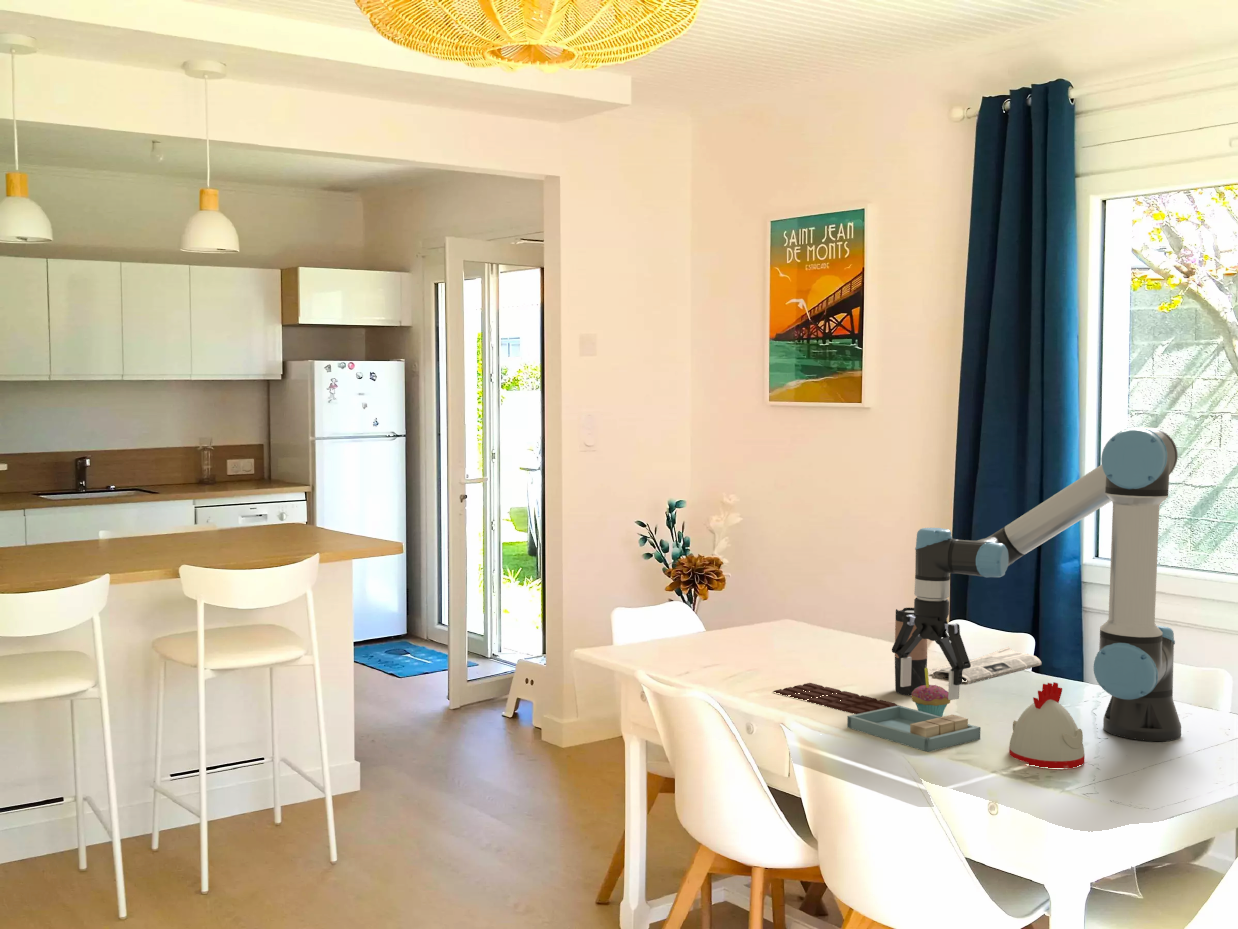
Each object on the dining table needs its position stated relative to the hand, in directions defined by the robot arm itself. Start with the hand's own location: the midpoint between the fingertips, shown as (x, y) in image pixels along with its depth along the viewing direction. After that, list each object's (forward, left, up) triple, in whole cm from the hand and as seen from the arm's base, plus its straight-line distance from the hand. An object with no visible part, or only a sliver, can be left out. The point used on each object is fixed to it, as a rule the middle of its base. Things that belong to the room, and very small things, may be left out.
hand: (929, 692), depth 264 cm
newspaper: (+23, -49, -6) cm, 55 cm away
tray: (-8, +15, -5) cm, 18 cm away
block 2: (-15, +15, -5) cm, 22 cm away
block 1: (-15, +19, -5) cm, 25 cm away
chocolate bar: (+24, +6, -6) cm, 25 cm away
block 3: (-15, +10, -5) cm, 19 cm away
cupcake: (0, 0, -6) cm, 6 cm away
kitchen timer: (-34, +6, -6) cm, 35 cm away
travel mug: (+18, -14, -6) cm, 23 cm away
